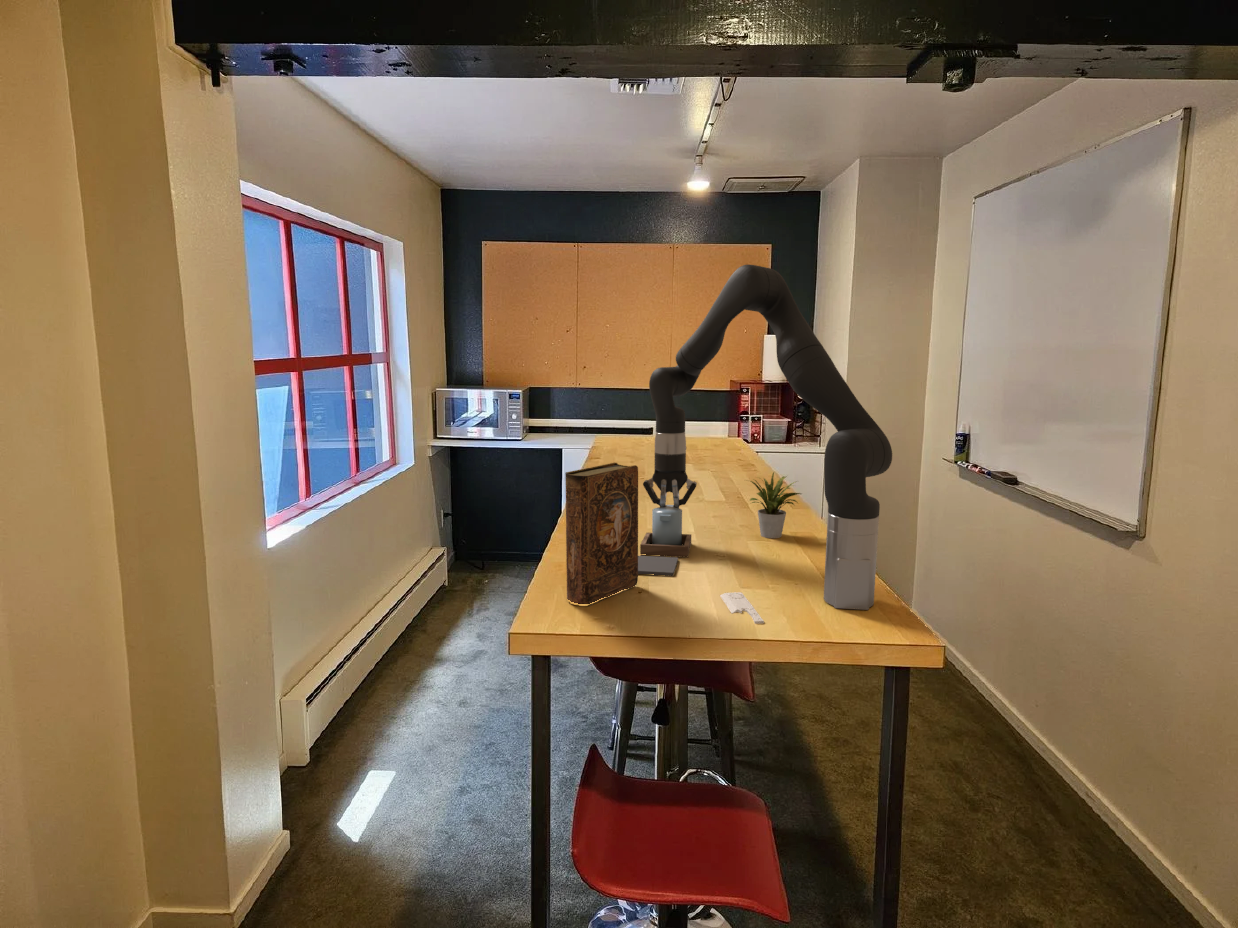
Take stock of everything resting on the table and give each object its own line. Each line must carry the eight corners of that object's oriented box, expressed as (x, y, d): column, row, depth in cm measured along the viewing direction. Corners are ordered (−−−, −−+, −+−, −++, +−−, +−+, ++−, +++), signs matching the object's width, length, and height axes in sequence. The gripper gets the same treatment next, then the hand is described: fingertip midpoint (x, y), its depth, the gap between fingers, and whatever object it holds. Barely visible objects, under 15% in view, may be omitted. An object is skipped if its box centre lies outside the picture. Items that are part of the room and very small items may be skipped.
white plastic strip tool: (735, 626, 133) (736, 620, 133) (717, 597, 148) (717, 592, 148) (764, 625, 134) (764, 619, 134) (742, 596, 148) (742, 591, 148)
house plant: (753, 545, 182) (755, 479, 179) (730, 531, 195) (731, 469, 192) (806, 541, 186) (809, 476, 183) (780, 527, 199) (782, 466, 196)
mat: (673, 576, 159) (673, 572, 159) (622, 573, 161) (622, 569, 161) (678, 560, 170) (678, 557, 170) (629, 558, 172) (629, 555, 172)
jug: (679, 553, 174) (680, 515, 173) (649, 552, 175) (649, 514, 174) (684, 538, 187) (684, 503, 185) (656, 537, 188) (656, 502, 186)
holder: (687, 557, 173) (688, 546, 172) (640, 555, 174) (640, 544, 174) (691, 544, 183) (691, 534, 183) (646, 542, 185) (646, 532, 185)
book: (583, 608, 141) (582, 476, 137) (562, 601, 144) (560, 473, 140) (638, 585, 153) (638, 464, 149) (617, 580, 157) (617, 461, 153)
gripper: (639, 452, 178) (639, 523, 181) (698, 453, 176) (696, 525, 179) (643, 447, 186) (643, 516, 189) (699, 449, 184) (698, 518, 186)
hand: (669, 520), depth 184 cm, fingers closed on jug
